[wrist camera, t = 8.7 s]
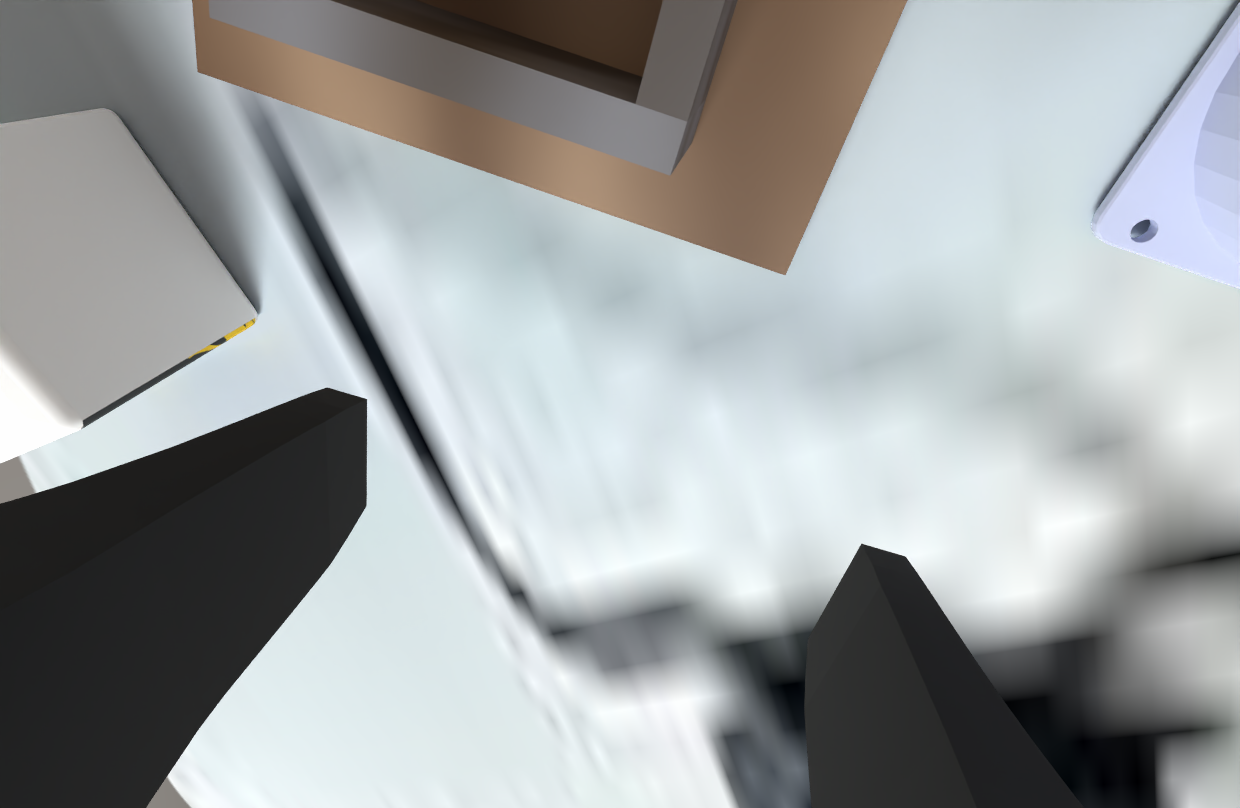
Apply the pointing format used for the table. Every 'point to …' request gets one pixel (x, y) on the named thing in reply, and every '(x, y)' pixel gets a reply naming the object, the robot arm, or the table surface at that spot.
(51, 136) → the medicine bottle
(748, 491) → the table surface
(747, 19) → the bottle rest
